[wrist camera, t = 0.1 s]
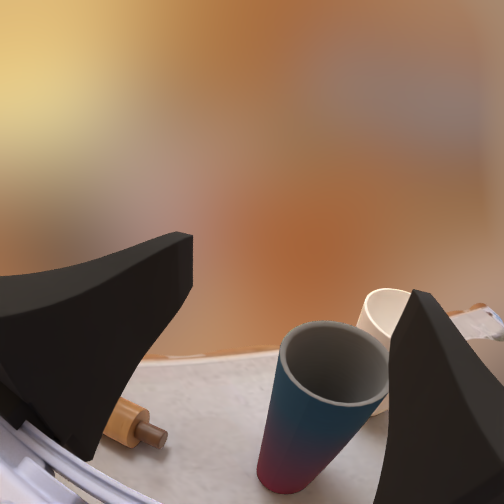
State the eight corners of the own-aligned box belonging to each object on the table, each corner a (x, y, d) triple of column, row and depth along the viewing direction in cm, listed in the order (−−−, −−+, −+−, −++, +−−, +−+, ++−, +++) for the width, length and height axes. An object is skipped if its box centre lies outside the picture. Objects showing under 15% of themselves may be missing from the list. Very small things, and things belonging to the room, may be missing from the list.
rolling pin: (155, 466, 22) (149, 448, 20) (59, 411, 24) (45, 387, 22) (175, 433, 25) (171, 412, 23) (80, 385, 28) (70, 360, 26)
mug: (349, 439, 27) (401, 356, 21) (315, 378, 34) (347, 291, 29) (429, 408, 30) (480, 330, 25) (392, 360, 38) (429, 283, 32)
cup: (275, 428, 28) (316, 306, 21) (335, 463, 24) (408, 351, 17) (229, 474, 22) (253, 361, 16) (295, 516, 19) (371, 428, 12)
